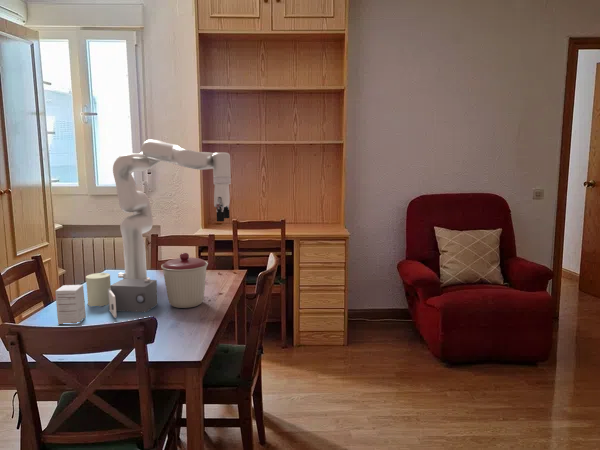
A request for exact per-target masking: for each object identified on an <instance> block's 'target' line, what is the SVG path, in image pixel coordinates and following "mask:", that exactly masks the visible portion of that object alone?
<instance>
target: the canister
mask: <svg viewBox="0 0 600 450" xmlns="http://www.w3.org/2000/svg"><path fill="white" fill-rule="evenodd" d="M208 265H209V262H208V261H206V260H204V259H203V258H199V257H190V255H189V253H187V252H181V253H180V254H179V257H178V258H173V259H169V260H167V261H165V262H164V263H162V264H161V265H160V267H161V269H162V270H163V271H162V272H163V277H164V283H165V289H166V295H167V300H168V302H169V304H170V306H172V307H174V308H176V309H177V308H179V309H190V308H194V307H197V306H199V305H201V304H202V303H203V301H204V298H205V289H206V288H205V287H206V278H207V277H206V275H207V267H208Z"/></svg>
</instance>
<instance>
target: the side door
mask: <svg viewBox="0 0 600 450" xmlns="http://www.w3.org/2000/svg"><path fill="white" fill-rule="evenodd" d="M108 302H109V304H108V310H109V312H110V313H111V315H112V316H113V318H117V317H118V316H117V311H116V299H115V295H114V294H113V292H112V291H111V289H108Z"/></svg>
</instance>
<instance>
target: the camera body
mask: <svg viewBox="0 0 600 450" xmlns="http://www.w3.org/2000/svg"><path fill="white" fill-rule="evenodd" d="M157 281H158V280H157V279H151V278H150V279H145V280H143V279H123V278H121V280H119V281H117V282H115V283H113V284H112V283H111V285H110V286H111V291H112V292H113V294H114V295H115V299H116V312H130V311H131V313H132V312H133V313H147V312H149V311H150V310H151V309H153V308H155V307H156V306H157V305H158V304H159V301H158V300H159V299H158V282H157Z"/></svg>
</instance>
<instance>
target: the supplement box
mask: <svg viewBox="0 0 600 450" xmlns="http://www.w3.org/2000/svg"><path fill="white" fill-rule="evenodd" d="M54 292H55V301H56V304H55V305H56V315H57V324H63V323H77V322H80V321H81V320H82V319H83V318H84V319H86V317H87V316H86V305H85V304H86V303H85V291H84V285H83V284H65V285H64V284H63V285H62V286H61V287H59V288H57V289H56V290H55V291H54ZM84 319H83V320H84ZM83 320H82V321H83ZM82 321H81V322H82ZM81 322H80V323H81Z"/></svg>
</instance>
